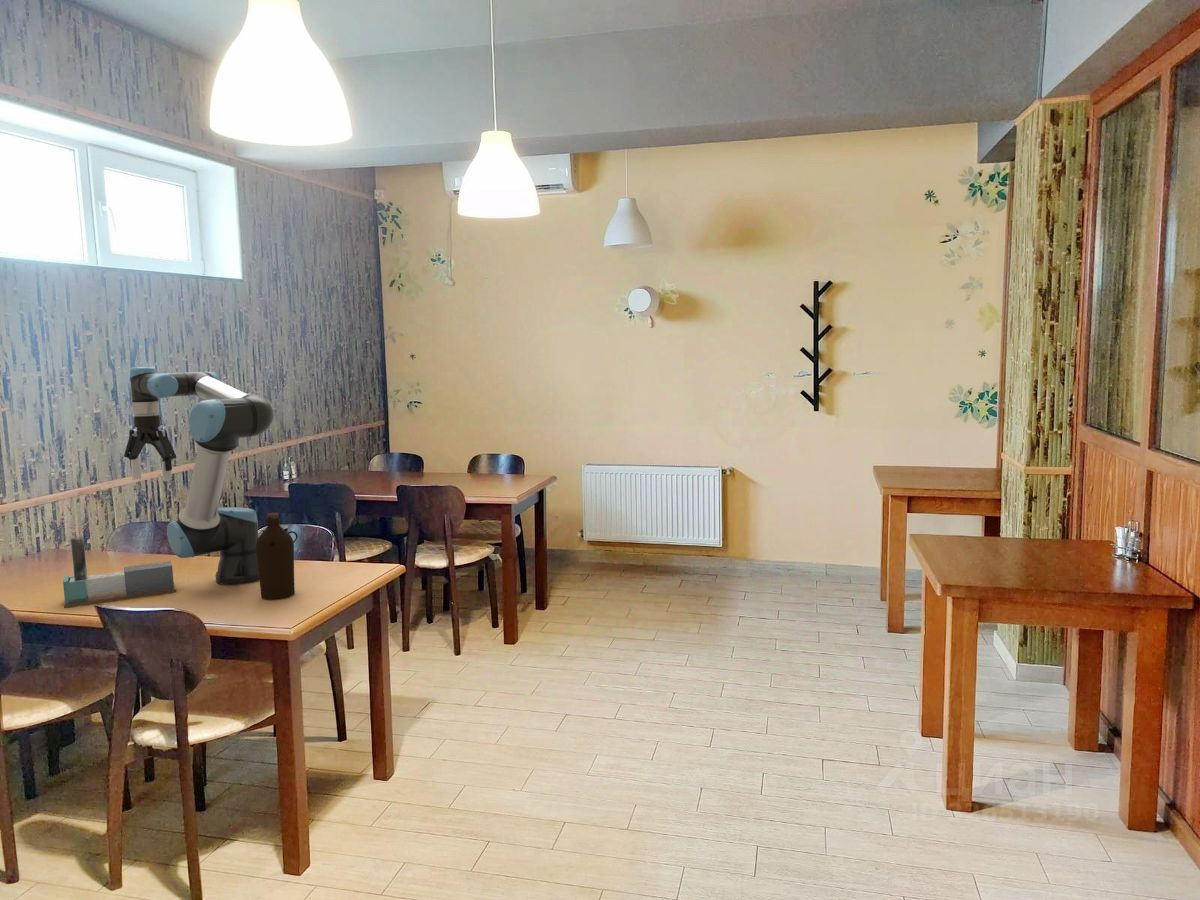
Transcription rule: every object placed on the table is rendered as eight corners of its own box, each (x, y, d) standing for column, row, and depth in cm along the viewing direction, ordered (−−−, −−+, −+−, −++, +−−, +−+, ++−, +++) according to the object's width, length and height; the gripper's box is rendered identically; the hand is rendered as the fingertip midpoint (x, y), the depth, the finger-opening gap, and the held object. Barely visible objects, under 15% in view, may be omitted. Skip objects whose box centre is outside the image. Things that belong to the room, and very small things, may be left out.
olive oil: (302, 595, 251) (297, 513, 248) (267, 603, 243) (261, 518, 240) (288, 588, 258) (283, 508, 255) (253, 595, 251) (247, 513, 248)
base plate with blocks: (173, 584, 265) (171, 559, 264) (176, 592, 256) (174, 566, 255) (65, 599, 250) (62, 573, 249) (64, 608, 242) (61, 581, 241)
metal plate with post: (133, 585, 257) (128, 531, 255) (133, 589, 253) (128, 534, 251) (71, 593, 249) (66, 538, 247) (71, 597, 245) (65, 541, 243)
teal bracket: (87, 594, 252) (85, 573, 251) (87, 600, 246) (85, 578, 245) (66, 597, 249) (64, 576, 248) (65, 603, 243) (63, 581, 242)
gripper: (185, 414, 269) (190, 479, 272) (128, 413, 278) (134, 476, 281) (165, 416, 262) (170, 483, 265) (108, 415, 271) (114, 480, 274)
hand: (152, 480), depth 273 cm, fingers open, 13 cm apart
